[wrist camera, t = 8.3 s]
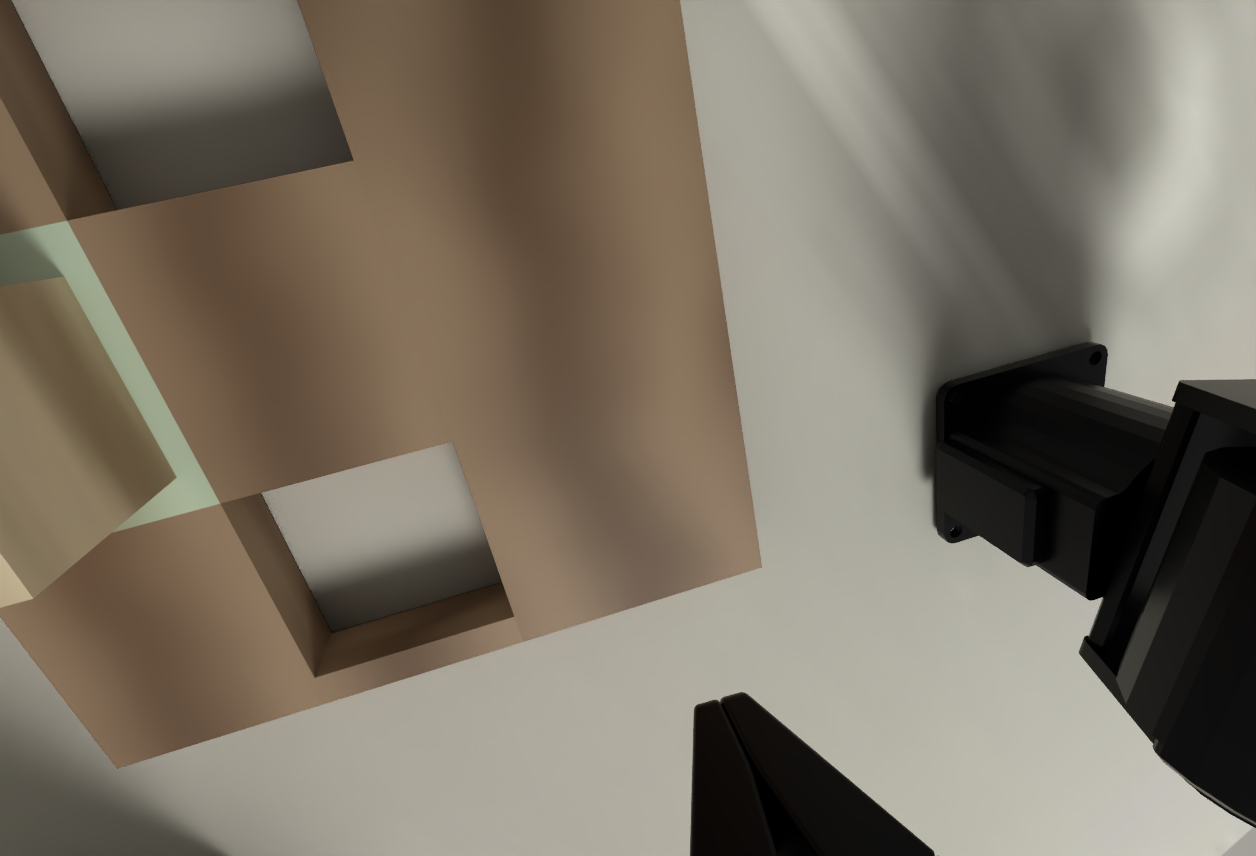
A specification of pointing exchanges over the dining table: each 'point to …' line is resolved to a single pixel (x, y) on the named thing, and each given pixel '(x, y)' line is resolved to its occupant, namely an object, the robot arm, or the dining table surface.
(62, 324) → the maple block
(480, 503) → the trap board
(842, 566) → the dining table surface
